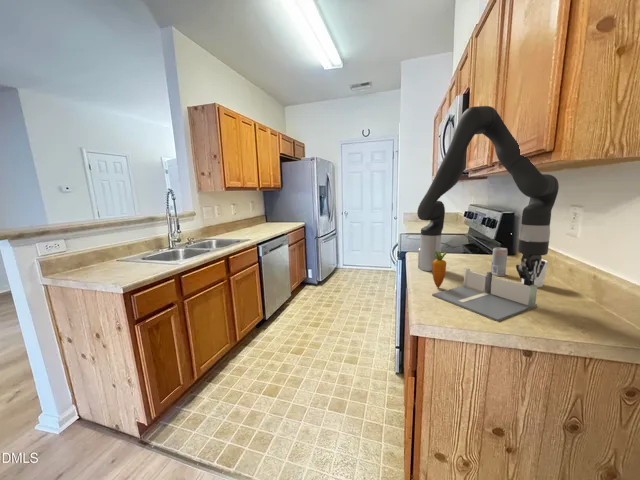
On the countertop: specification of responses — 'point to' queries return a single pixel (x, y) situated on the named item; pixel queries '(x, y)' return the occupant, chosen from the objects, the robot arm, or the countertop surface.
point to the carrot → (438, 269)
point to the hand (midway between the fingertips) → (528, 290)
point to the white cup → (540, 279)
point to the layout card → (482, 302)
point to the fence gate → (514, 291)
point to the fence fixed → (478, 280)
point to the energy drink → (499, 261)
